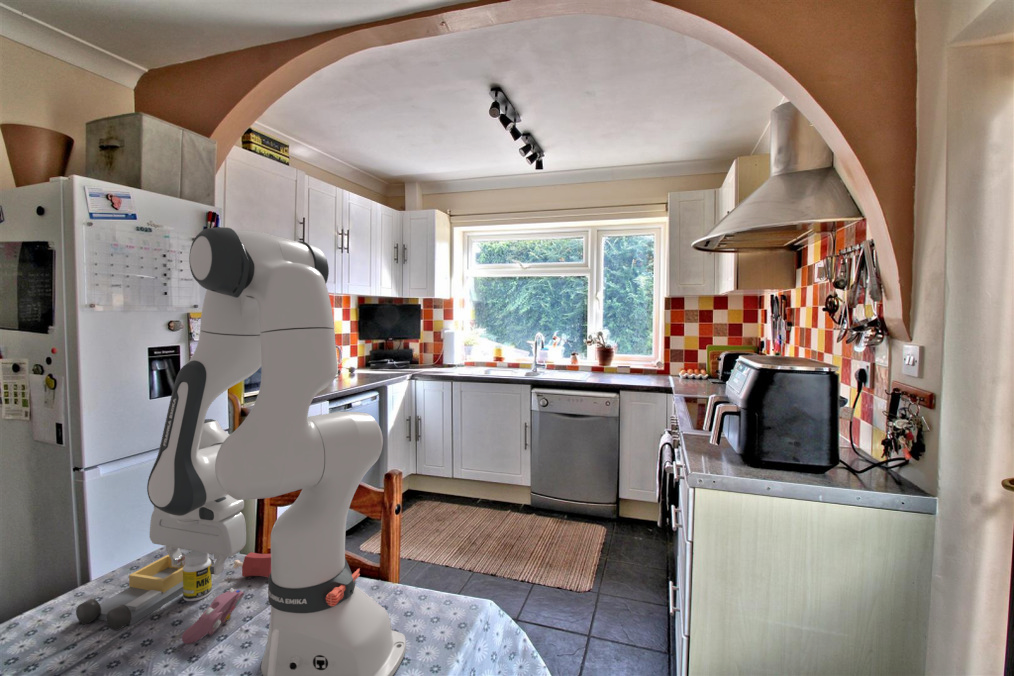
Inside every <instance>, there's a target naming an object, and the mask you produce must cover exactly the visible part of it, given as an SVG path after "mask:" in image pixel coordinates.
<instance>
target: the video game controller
mask: <svg viewBox="0 0 1014 676" xmlns="http://www.w3.org/2000/svg"><path fill="white" fill-rule="evenodd" d="M244 595H245V592H244V591H241V590H239V589H237V588H235V589H234V588H233V587H230V589H229V590H227V591H226V592H223V593H221V594H219V595H217V596H216V597H214V599H213V600H212V602H211V604H210V605H209V606H208V607H206V609H205V611H203V612H202V614H201V615H200V616H199V618H198V619H197V620H196V621H195V622H194V623H193V624H192V625H191V626H189V627H188V628H187V629H186V630H184V631H183V633H182V635H181V640H182V643H183V644H187V645H189V644H190V645H191V644H194V643H196V642H198V641H200V640H201V639H202V638H203V637H205V636H206V635H209V636H212V635H213V634H214V633H215V632H216V630H218V628H219V627H220V626H221V624H224V623H226V622H227V621H228V620H230V618H231V615H232V614H233V612H234V610H235V609H236V608H237V606H238V605H239V604H240V602H241V601H242V599H243V597H244Z"/></svg>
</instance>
